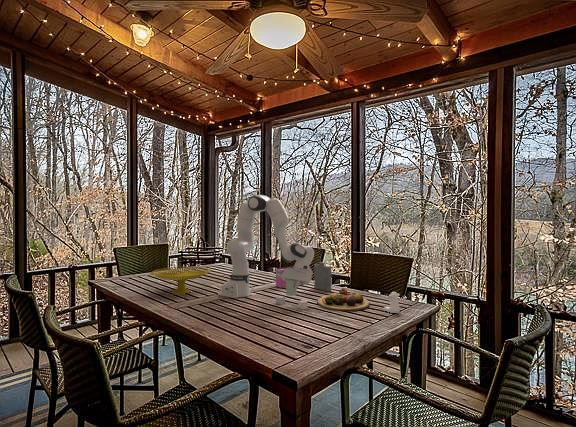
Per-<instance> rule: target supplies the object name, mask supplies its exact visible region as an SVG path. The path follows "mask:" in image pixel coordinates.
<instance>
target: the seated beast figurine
mask: <svg viewBox="0 0 576 427" xmlns="http://www.w3.org/2000/svg"><path fill="white" fill-rule="evenodd" d="M399 296H400V293H397V292H396V291H392V292H391V293H390V294H389V298H390V302H389V306H385V307H383V310H382V311H384V312H385V311H387V312H386V313H389V312H390V313H389V314H392V313H398V314H400V311H401V308H400V307H401V306H400V305H399V304H400V303H399V301H398V298H399Z"/></svg>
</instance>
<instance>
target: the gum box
mask: <svg viewBox="0 0 576 427" xmlns="http://www.w3.org/2000/svg"><path fill="white" fill-rule="evenodd" d="M288 267H290V268H293V267H294V265H293V266H287V267H277V268H276V269H275V287H277V288H280V289H283V288H286V281H285V280H283V279H282V278H281V275H282V273H283V272H284V271H285V269H286V268H288ZM301 285H302V286H303V285H304V284H303V283H301V284H300V285H299V286H301Z"/></svg>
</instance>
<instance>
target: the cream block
mask: <svg viewBox="0 0 576 427" xmlns="http://www.w3.org/2000/svg"><path fill="white" fill-rule="evenodd" d="M308 303H309V301H308V300H303V299H301V300H299V301H298V303H297V308H298V309H302V310H306V309H308Z"/></svg>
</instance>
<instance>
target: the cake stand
mask: <svg viewBox="0 0 576 427" xmlns="http://www.w3.org/2000/svg"><path fill="white" fill-rule="evenodd" d="M210 272H211V269H210V268H207V267H203V266H192V265H191V266H172V267H164V268H158V269H154V270H153V271H151V272H150V274H151V275H152V276H155V277H157V278H160V279H161V280H165V281H176V282H177V288H175V289H174V290H172V291H171V292H170V294H171V293H173V294H172V295H175V294H183V295H186V294H185V293H189V292H191V291H192V290H191V289H188V288H186V281H188V280H194V279H198V278H200V277H203V276H205V275H206V274H208V273H210ZM191 293H192V292H191ZM189 294H190V293H189Z"/></svg>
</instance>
